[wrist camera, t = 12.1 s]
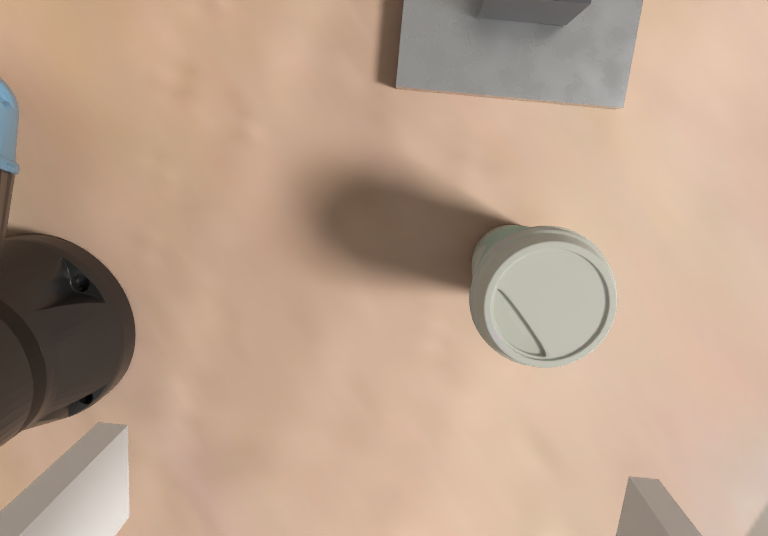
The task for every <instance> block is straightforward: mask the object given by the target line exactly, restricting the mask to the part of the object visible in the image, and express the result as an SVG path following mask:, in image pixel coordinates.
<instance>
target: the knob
mask: <svg viewBox="0 0 768 536" xmlns="http://www.w3.org/2000/svg"><path fill="white" fill-rule="evenodd" d="M590 4H591V0H479V8H478V16H477V18H484V19H496V20H508V21H520V22H532V23H544V24H556V25H567V24H568V23H569V22H570V21H572V20H573V19H574V18H575V17H576V16H577V15H579V14H580V13H581V12H582V11H583V10H584V9H586V8H587V7H588V6H589V5H590Z"/></svg>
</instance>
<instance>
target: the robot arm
mask: <svg viewBox="0 0 768 536" xmlns="http://www.w3.org/2000/svg"><path fill="white" fill-rule="evenodd" d="M18 120H19V107H18V103H17V100H16V97H15V95H14V93H13V92H12V90H11V89H10V87H9V86H8V85H7V84H6V83H5V82H4V81H3V80H2V79H1V78H0V447H1V446H2V445H3V444H5V443H6V442H7V441H9V440H10V439H11V438H13V437H14V436H15V435H17V434H18V433H19V432H21V431H22V430H25V429H29V428H32V427H36V426H39V425H43V424H46V423H50V422H53V421H56V420H60V419H63V418H67V417H70V416H73V415H75V414H78V413H80V412H82V411H84V410H85V409H87V408H89V407H90V406H92V405H93V404H95V403H96V402H97V401H99V400H100V399H101V398H102V397H103V396H105V395H106V394H107V393H108V392H109V391H111V390H112V389H113V388H114V387H115V386H116V385H117V384H118V382H119V381H120V380H121V379H122V377H123V376H124V374H125V372H126V371H127V369H128V367H129V365H130V362H131V359H132V356H133V352H134V346H135V324H134V318H133V313H132V310H131V307H130V304H129V301H128V299H127V297H126V294H125V293H124V291H123V289H122V287H121V286H120V284H119V282H118V281H117V280H116V278H115V277H114V276H113V274H112V273H111V272H110V271H109V270H108V269H107V268H106V267H105V266H104V265H103V264H102V263H101V262H100V261H99V260H98V259H97V258H95V257H94V256H93V255H91V254H90V253H89V252H87V251H85V250H84V249H82V248H81V247H79V246H77V245H75V244H73V243H70V242H68V241H65V240H63V239H59V238H56V237H52V236H47V235H40V234H22V235H15V236H10V237H6V231H7V224H8V217H9V211H10V204H11V197H12V191H13V184H14V177H15V174H19V165H18V164H17V162H16V145H17V132H18ZM128 517H129V464H128V425H121V424H111V423H102V422H99V423H98V424H96V425H95V426H94V427H93V428H92V429H91V430H90V431H89V432H88V433H87V434H85V435H84V436H83V437H82V438H81V439H80V440H79V441H78V442H77V443H76V444H74V445H73V446H72V447H71V448H70V449H69V450H68V451H67V452H66V453H65V454H63V455H62V456H61V457H60V458H59V459H58V460H57V461H56V462H55V463H53V464H52V465H51V466H50V467H49V468H48V469H47V470H46V471H45V472H44V473H42V474H41V475H40V476H39V477H38V478H37V479H36V480H35V481H34V482H33V483H31V484H30V485H29V486H28V487H27V488H26V489H25V490H24V491H23V492H22V493H20V494H19V495H18V496H17V497H16V498H15V499H14V500H13V501H12V502H11V503H9V504H8V505H7V506H6V507H5V508H4V509H3V510H2V511H1V512H0V536H115V535H116V534H117V532H118V531H119V530H120V528H121V527H122V526H123V524H124V523H125V522H126V520H127V519H128ZM616 536H702V535H701V534H700V533H699V531H698V530H697V529H696V527H695V526H694V525H693V524H692V522H691V521H690V520H689V518H688V517H687V516H686V514H685V513H684V512H683V510H682V509H681V508H680V507H679V505H678V504H677V503H676V501H675V500H674V499H673V497H672V496H671V495H670V494H669V492H668V491H667V490H666V488H665V487H664V486H663V484H662V483H661V482H660V481H659V479H649V478H639V477H630V476H629V479H628V483H627V488H626V492H625V497H624V501H623V506H622V511H621V515H620V520H619V524H618V529H617V533H616Z"/></svg>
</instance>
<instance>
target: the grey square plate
mask: <svg viewBox="0 0 768 536" xmlns="http://www.w3.org/2000/svg"><path fill="white" fill-rule="evenodd" d="M642 4H643V0H591V4H590V5H589V6H588V7H587V8H586V9H584V10H583V11H582V12H581V13H580V14H579V15H577V16H576V17H575V18H574V19H573V20H572V21H570V22H569V23H568V24H567V25H556V24H544V23H532V22H520V21H508V20H496V19H484V18H477V16H478V8H479V0H404V3H403V14H402V25H401V36H400V46H399V57H398V68H397V79H396V89H404V90H415V91H426V92H436V93H447V94H458V95H468V96H479V97H490V98H500V99H511V100H522V101H533V102H543V103H554V104H565V105H575V106H586V107H597V108H607V109H619V108H623V106H624V101H625V95H626V90H627V84H628V79H629V74H630V68H631V63H632V57H633V52H634V47H635V41H636V36H637V30H638V25H639V20H640V14H641V9H642Z"/></svg>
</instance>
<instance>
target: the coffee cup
mask: <svg viewBox="0 0 768 536" xmlns="http://www.w3.org/2000/svg"><path fill="white" fill-rule="evenodd" d="M469 303H470V311H471V315H472V319H473V322H474V324H475V326H476V328H477V330H478V332H479V333H480V335H481V336H482V338H483V339H484V340H485V341H486V342H487V344H488V345H490V346H491V347H492V348H493V349H494V350H495V351H497V352H498V353H499V354H501V355H502V356H504V357H505V358H507V359H509V360H511V361H514V362H516V363H520V364H523V365H528V366H533V367H540V368H552V367H559V366H564V365H568V364H570V363H573V362H575V361H578V360H580V359H582V358H583V357H585V356H586V355H588V354H589V353H591V352H592V351H593V350H594V349H595V348H596V347H597V346H598V345H599V344H600V343H601V342H602V341H603V340H604V338H605V337H606V335H607V334H608V332H609V330H610V328H611V326H612V324H613V321H614V318H615V314H616V308H617V289H616V282H615V278H614V274H613V271H612V269H611V267H610V265H609V263H608V261H607V260H606V258H605V257H604V255H603V254H602V253H601V251H600V250H599V249H598V248H597V247H596V246H595V245H594V244H593V243H592V242H591V241H590V240H588V239H587V238H585V237H584V236H582V235H580V234H579V233H576V232H574V231H572V230H569V229H566V228H561V227H556V226H536V227H527V226H520V225H503V226H499V227H496V228H494V229H492V230H490V231H489V232H487V233H486V234H485V235H484V236H483V237H482V238H481V239H480V240H479V241H478V243H477V244H476V246H475V248H474V251H473V255H472V282H471V286H470V294H469Z"/></svg>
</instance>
